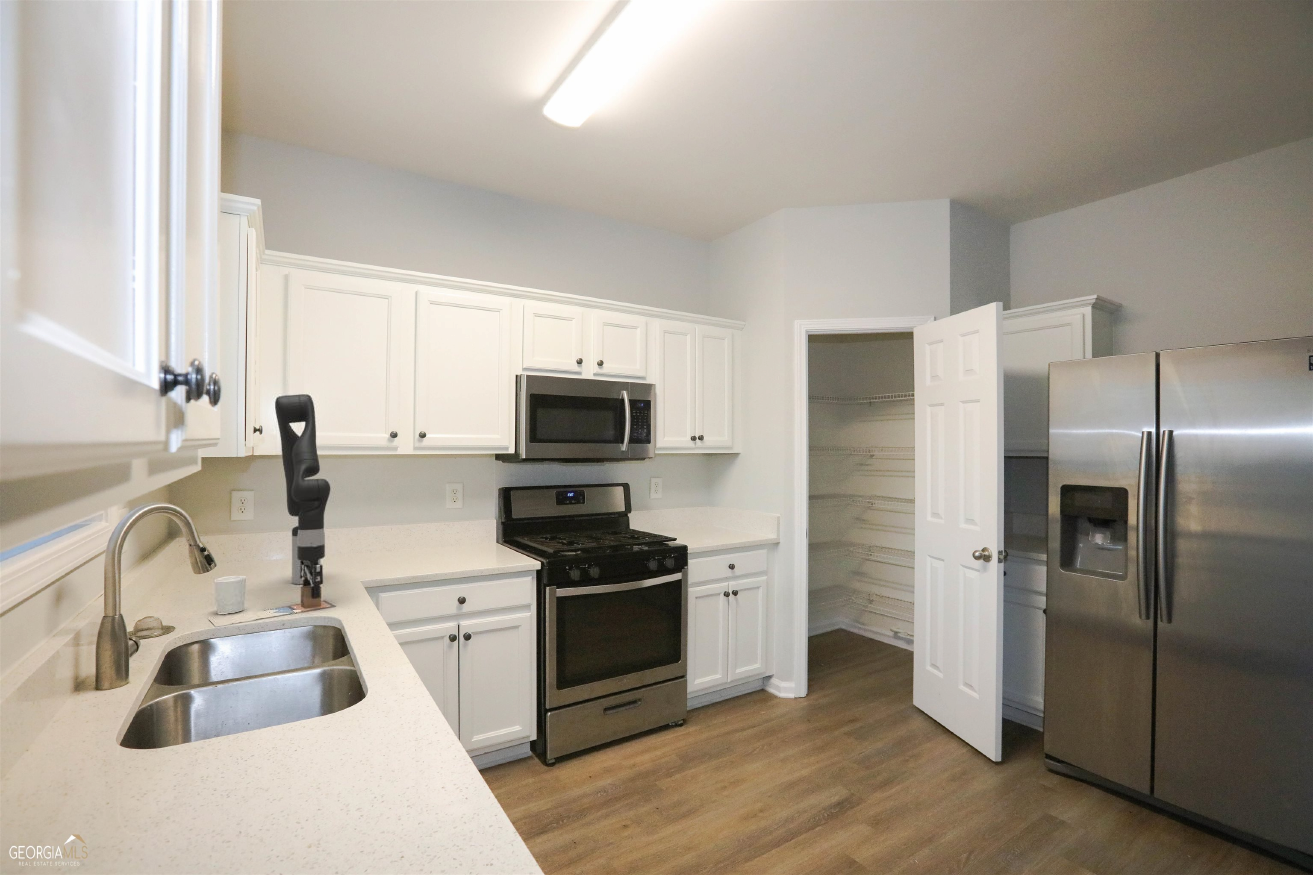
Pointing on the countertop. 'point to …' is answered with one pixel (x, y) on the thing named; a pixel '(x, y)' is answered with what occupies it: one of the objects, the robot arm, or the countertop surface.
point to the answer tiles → (298, 607)
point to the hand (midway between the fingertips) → (311, 595)
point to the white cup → (230, 594)
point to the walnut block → (309, 598)
